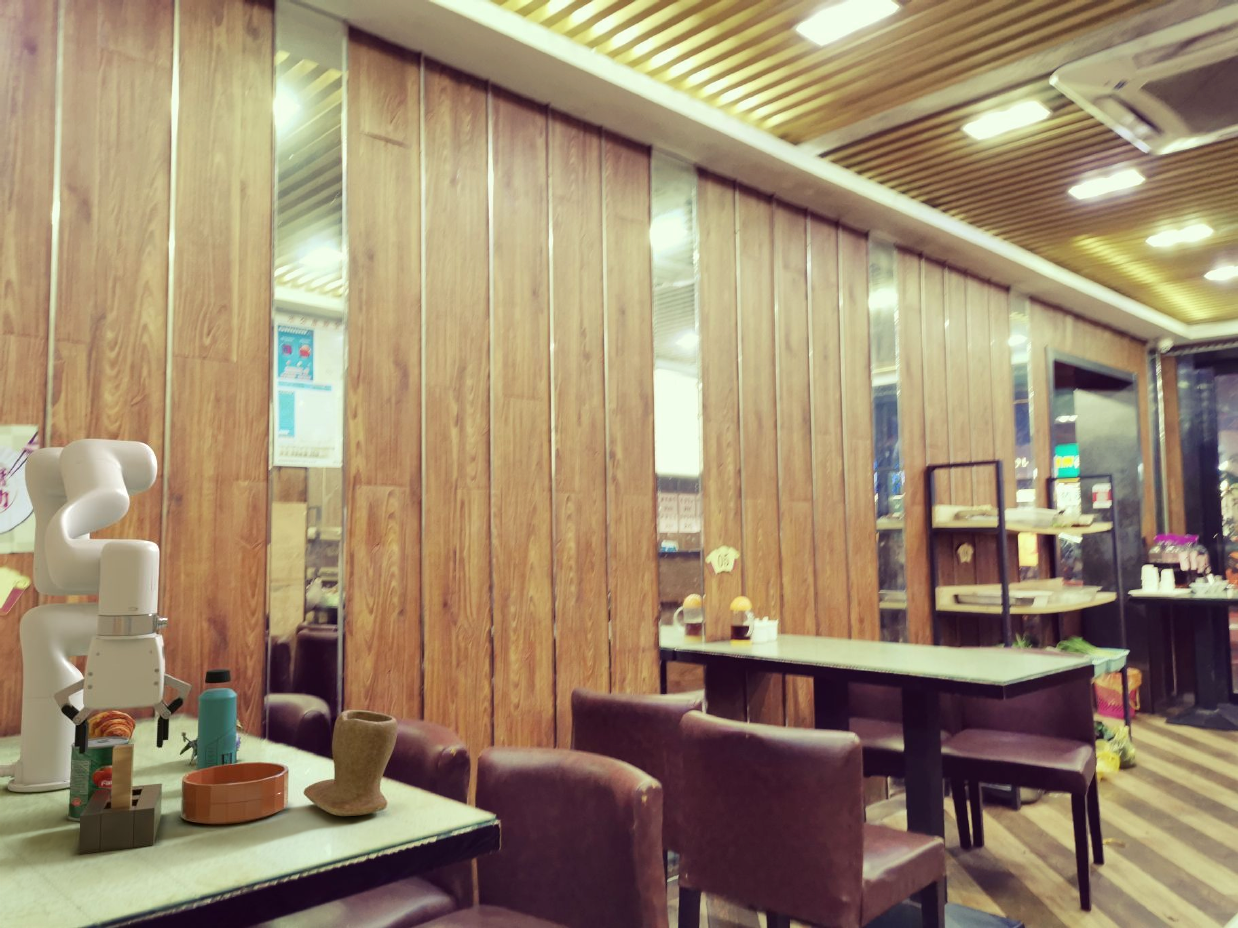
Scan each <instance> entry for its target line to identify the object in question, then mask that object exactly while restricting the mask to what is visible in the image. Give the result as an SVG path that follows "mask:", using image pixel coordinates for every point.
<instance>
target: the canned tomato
mask: <svg viewBox="0 0 1238 928" xmlns="http://www.w3.org/2000/svg"><path fill="white" fill-rule="evenodd" d="M129 741H130V739H129V738H126V737H100V738H92V739H88V749H87V751H86V752H85V753H84V754H79V747H75V742H74V743H73V744H72V745H71V747H72V752H71V772H70V787H69V794H68V795H69V799H68V816H67V818H68V819H69V820H70V821H75V822H80V815H81V814H82V812H83V810H84V809H85V807H86V805H87V803H88V802H89V800H90V798H91V797H92V795H93V793H94V791H95V790H100V789H110V788H112V763H113V748H114V746H115V745H125V744H129Z"/></svg>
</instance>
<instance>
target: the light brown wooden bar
mask: <svg viewBox="0 0 1238 928" xmlns="http://www.w3.org/2000/svg"><path fill="white" fill-rule="evenodd" d="M134 751H135V743H128V744H125V745H115V746H114V748H113V763H112V791H111V808H120V807H130V806H132V786H134V784H133V782H134V756H135V755H134V754H135V753H134Z"/></svg>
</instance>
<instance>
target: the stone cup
mask: <svg viewBox="0 0 1238 928" xmlns="http://www.w3.org/2000/svg"><path fill="white" fill-rule="evenodd" d="M398 726H399V725H398V721H397V719H396V718H395V717H394V716H391V715H389V714H385V713H381V712H375V711H371V710H364V709H363V710H362V709H346V710H343V711H342V712H340V713H339V714H338V715H337V717H336V720H335V722H334V728H333V734H332V742H331V753H332V759H333V770H334V771H333V772H334V774H333V775H334V777H333V778H330V779H325V780H319V781H317V782H314V783H312V784H310V785H309V786H307V787H305V788H304V789H303V795H304V796H305V797H306V798H307V799H308V800H309V801H310V802H311V803H312V804H314V805H315V806H317V807H318V808H319V809H321V810H323V811H325V812H327V813H328V814H331V815H333V816H339V817H354V816H362V815H368V814H372V813H373V814H374V813H378V812H380V811H384V810H385V809H386V808H387V807H388V800H387V799H386V798H385V795H383V793H382V791H381V782H382V779H383V775H384V773H385V771H386V767H387V765H388V763H389V761H390V759H391V756H392V754H393V751H394V748H395V746H396V742H397V736H398V728H399V727H398Z"/></svg>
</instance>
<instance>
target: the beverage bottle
mask: <svg viewBox="0 0 1238 928" xmlns="http://www.w3.org/2000/svg"><path fill="white" fill-rule="evenodd" d="M231 681H232V678H231V670H230V669H228V668H227V669H226V668H225V669H224V668H217V669H216V668H215V669H211V670H207V671H206V672H205V679H204V683H205V684H224V683H230V682H231ZM237 698H238V694H237V693H236V692H235V690H233V689H232V688H230V687H229V688H228V687H220V688H219V687H217V688H209V689H208V688H207V689H206V690H204V691H203V692H201V694H200V695H199V696H198V698H197V700H198V706H197V707H198V709H197V710H198V711H197V712H198V713H197V737H198V738H197V737H196V738H197V742H196V743H197V755H196V758H195V759H196V760H195V762H196V763H195V767H196V770H199V769H204V768H208V767H213V766H219V765H225V764H234V763H238V761H237V756H238V751H237V749H236V742H237V741H236V734H237V725H236V721H237V719H238V712H237V700H238V699H237Z"/></svg>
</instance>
